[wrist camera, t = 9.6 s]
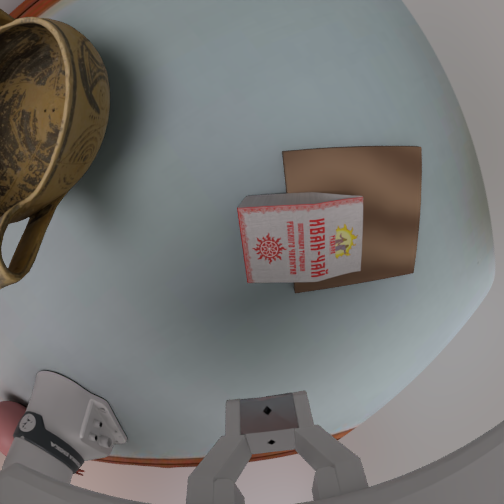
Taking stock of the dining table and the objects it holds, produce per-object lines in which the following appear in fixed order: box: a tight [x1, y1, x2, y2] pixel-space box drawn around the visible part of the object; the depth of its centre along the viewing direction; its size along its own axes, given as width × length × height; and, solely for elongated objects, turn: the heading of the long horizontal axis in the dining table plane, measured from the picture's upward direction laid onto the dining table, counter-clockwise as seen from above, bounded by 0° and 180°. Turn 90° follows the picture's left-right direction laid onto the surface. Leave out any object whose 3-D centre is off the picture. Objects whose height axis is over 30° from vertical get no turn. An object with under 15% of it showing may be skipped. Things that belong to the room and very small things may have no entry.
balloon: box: [0, 401, 27, 456], centre depth 37 cm, size 15×20×15 cm
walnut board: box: [282, 146, 422, 293], centre depth 26 cm, size 14×14×1 cm
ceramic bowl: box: [0, 9, 110, 289], centre depth 14 cm, size 22×17×15 cm
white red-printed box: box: [237, 192, 363, 283], centre depth 24 cm, size 4×7×10 cm
